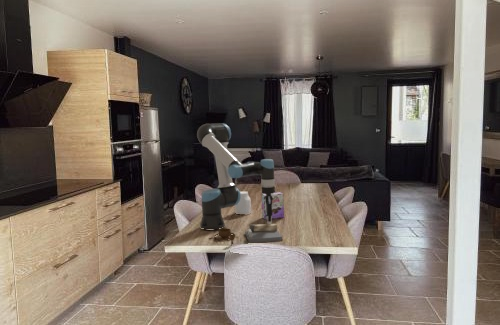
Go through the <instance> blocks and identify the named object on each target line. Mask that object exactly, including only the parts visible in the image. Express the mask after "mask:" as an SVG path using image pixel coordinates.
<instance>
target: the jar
mask: <svg viewBox="0 0 500 325" xmlns="http://www.w3.org/2000/svg"><path fill="white" fill-rule="evenodd" d="M240 194H241V198H240V201H239V203H238V204H237V205H234V214H235V213H236V214H249V215H251V214H252V206H251V205H252V200H251V199H252V198H251V197H250V196H249V192H248V191H240ZM250 213H251V214H250ZM236 214H235V215H236Z"/></svg>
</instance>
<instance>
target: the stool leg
mask: <svg viewBox="0 0 500 325" xmlns="http://www.w3.org/2000/svg"><path fill="white" fill-rule="evenodd" d="M277 226H278V224H277V223H272V224H267V223H266V224H265V223H264V224H263V223H262V224H260V223H258V224H254V223H253V224H249V226H248V227H249V228H248V229H251V231H278V227H277Z"/></svg>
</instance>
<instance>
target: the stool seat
mask: <svg viewBox="0 0 500 325" xmlns="http://www.w3.org/2000/svg"><path fill="white" fill-rule="evenodd" d="M244 234H246V235H245V237H246V239H247V241H248V243H249V244H254V243H253V242H255V243H266V242H278V241H279V242H281V241H283V236H282V234H281V233H280V232H279V231H278V230H277V231H251V229H250V228H248V229H247V230H244Z"/></svg>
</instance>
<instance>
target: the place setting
mask: <svg viewBox="0 0 500 325" xmlns="http://www.w3.org/2000/svg"><path fill="white" fill-rule="evenodd" d="M231 230H232V229H231V228H227V227H226V228H225V227H224V228H222V229H219V230H218V233H216V234H215V235H213V237H214V239H215V238H216V239H218V240H217V241H220V240H227V241H231V242H230V244H231V245H232V244H233V245H234V240H235V238H236V234H235V233H233V232H232V231H231ZM218 234H219V236H218V237H215V236H216V235H218ZM231 234H233V235H231ZM219 237H220V238H219ZM221 237H222V238H221ZM227 237H228V238H227ZM216 239H215V240H216ZM228 239H230V240H228Z"/></svg>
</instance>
